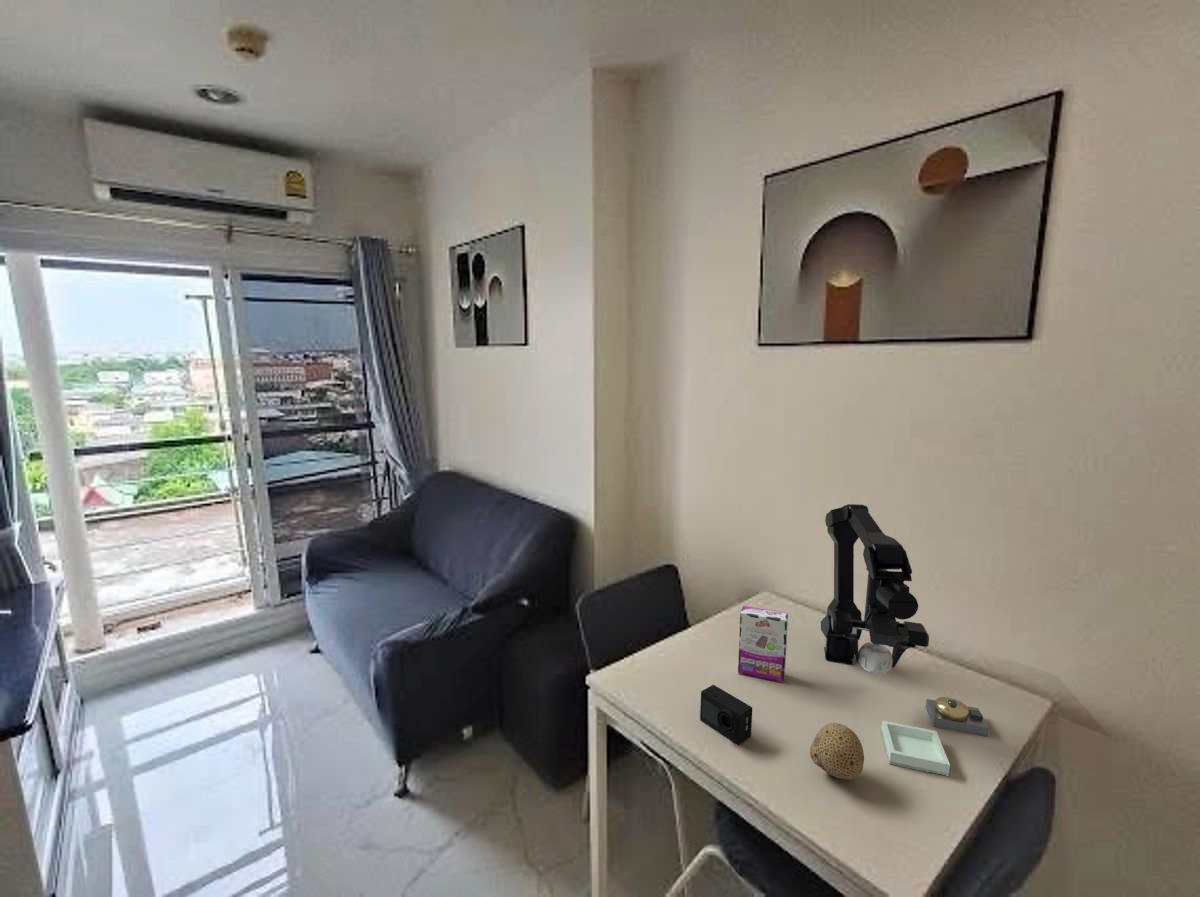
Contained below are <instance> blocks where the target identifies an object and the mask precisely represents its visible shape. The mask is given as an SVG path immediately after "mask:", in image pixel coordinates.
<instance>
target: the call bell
mask: <svg viewBox="0 0 1200 897" xmlns="http://www.w3.org/2000/svg"><path fill="white" fill-rule="evenodd" d="M925 709H926V711H927V713H928V716H929V718H930V721H931V723H932V726H933V727H936V728H941V729H946V730H949V731H950V730H952V731H957V732H963V733H967V734H972V735H978V736H982V737H989V734H990V727H989V725H988V723H987V721H986V720H985V717H984V716H983V714H982V713H981V711H980V709H979V708H978V707H974V706H973V707H972V706H969V705H966V704H965V703H964V702H962V701H960V700H958V699H956V698H954V697H953V698H952V697H949V696H939V697H937V698H936V700H935V699H930V698H926V702H925Z"/></svg>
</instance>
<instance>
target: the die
mask: <svg viewBox="0 0 1200 897" xmlns="http://www.w3.org/2000/svg"><path fill="white" fill-rule="evenodd" d="M858 651H859V659H858V662H859V664H860V666H861V667H862V668H863V669H864V670H865V671H866V672H869V673H870V674H873V675H878V676H879V675H885V674H887V673H888V672H889V671H890V670H891V668H892V663H893V659H892V652H891V651H890V650H889V648H887V646H886V645H880V644H879V645H876V644H873V643H872V642H871V641H870V642H866V643H863V644H862V645H861V646H860V648H858Z"/></svg>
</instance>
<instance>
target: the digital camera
mask: <svg viewBox="0 0 1200 897" xmlns="http://www.w3.org/2000/svg"><path fill="white" fill-rule="evenodd" d="M699 721H700V722H702V723H703V724H705V725H706V726H708V727H709V728H711V729H712V730H714V731H716V732H717V733H718V734H720V735H721V736H723V737H724V738H726V739H727V740H729V741H730V742H732V743H734V744H735V745H737V746H740V745H742V744H743V743H745V742H746V741H747V740H749V739H750V738H752V725H753V723H752V722H753V707H752V706H750V705H749V704H747V703H745V702H744V701H743V700H741V699H739V698H738V697H736V696H733V695H732V694H730V693H729V692H728V691H725V690H724V689H722V688H720V687H718V686H717V685H716V684H715V685H714V684H712V685H710V686H708V687H706V688H704V689H703V690H701V691H700V710H699Z"/></svg>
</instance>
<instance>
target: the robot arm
mask: <svg viewBox="0 0 1200 897" xmlns="http://www.w3.org/2000/svg"><path fill="white" fill-rule="evenodd" d="M824 520H825V526H826V528H827V529H826V530H827V534H828V535H829V536H830V539H831V540H832V541H833V554H834V555H833V598H832V600H831V601H830V602H829V604H828V605H827V608H826V615H825V616H824V617H823V618H822V620H821V621H820V631H821V632H822V634H823V635H824V637H825V645H824V647H823V650H824V657H825V658H824V659H825V660H826V661H831V662H834V663H835V662H836V663H842V664H847V665H853V664H854V662H853V660H854V659H855V662H857V663H858V662H859V640H860V639H861V635H862V633H863V631H868V633H869V640H870V642H872V643H873V644H876V645H879V644H880V645H883V646H886V647H887V646H888V647H889V648H892V652H891V655H892V659H893V663H892V666H891V668H893V669H894V668H895V667H896V665H897V663H898V662H899V660H900V659H901V657H902V655H903V654H904V653H905V652H906V650H908V649H915V648H916V647H917V646H918V647H924V648H926V647H929V645H930V643H929V642H930V635H929V633H928V631H927V628H926V627H925V626H924V624H923V623H920V622H914V621H913V622H912V621H908V620H907V619H911V618H912V617H914V615H916V614H917V612H918V610H919V602H918V599H917V598H916V597H915V596H914V595H913V594H912V593H911V592H910V587H909V585H907V584H905V582H912V581H913V579H912V574H913V571H912V567H911V563H910V560H909V558H908V554H907V551H906V549H905V548H904V546H903V545H902V544H901V543H900V542H899V541H898V540H897V539H896V538H894V537H892V536H889V535H887V534H885V533H884V532H883V530H882V529H881V528H880V526H879V524H878V523H877V522H876V521H875V519H874V518H873V517H872V514H870V511H869V507H868V506H867V505H865V504H860V503H859V504H855V503H854V504H853V503H851V504H850V503H849V504H848V503H847V504H845V505H842V507H841V506H840V507H838V508H834V509H830V510H829V511H828V512H827V513H826V514H825V518H824ZM858 540H860V541H861V543H862V544H863V546H864V548H863V553H862V556H863V559H864V564H865V566H866V568H865V569H866V571H867V573H868V574H867V583H866V584H867V585H866V596H865V605H864V617H863V618H864V619H862V611H861V610H860V609H859V608H858V606H857V604H856V603H855V602H854V601H855V600H854V599H855V598H854V595H855V594H854V593H855V592H854V591H855V589H854V588H855V587H854V586H855V582H854V578H855V574H854V573H855V572H854V571H855V570H854V569H855V561H854V560H855V555H854V553H855V550H854V549H855V544H856V543H857V541H858ZM893 570H894V571H893ZM896 570H898V571H896ZM900 570H901V571H900ZM897 620H901V621H903V620H905V621H903V622H900V621H897ZM906 620H907V621H906Z"/></svg>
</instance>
